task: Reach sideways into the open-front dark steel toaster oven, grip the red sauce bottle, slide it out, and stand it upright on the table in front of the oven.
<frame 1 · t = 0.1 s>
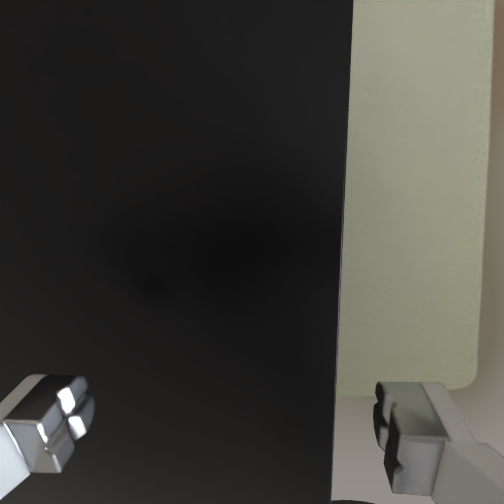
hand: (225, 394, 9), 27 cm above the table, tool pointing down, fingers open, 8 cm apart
toaster oven: (191, 240, 37), on the table
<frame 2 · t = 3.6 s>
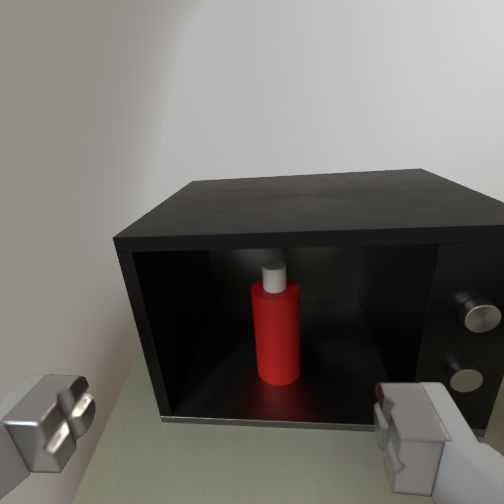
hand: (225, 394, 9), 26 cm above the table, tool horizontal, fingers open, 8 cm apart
sauce bottle: (279, 369, 43), point 1 cm above the table, touching toaster oven
toaster oven: (306, 350, 47), on the table
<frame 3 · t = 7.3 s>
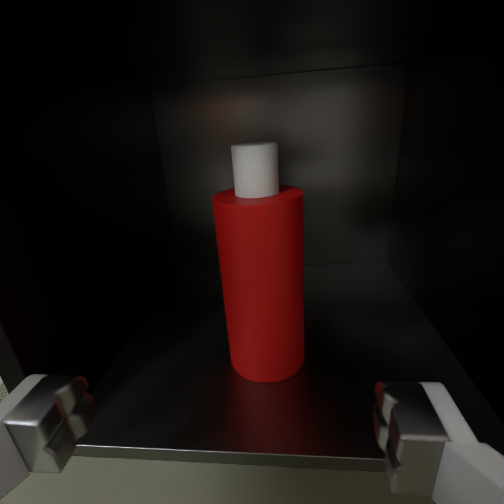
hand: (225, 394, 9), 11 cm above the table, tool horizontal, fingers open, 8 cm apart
sauce bottle: (267, 355, 25), point 1 cm above the table, touching toaster oven
toaster oven: (312, 327, 29), on the table
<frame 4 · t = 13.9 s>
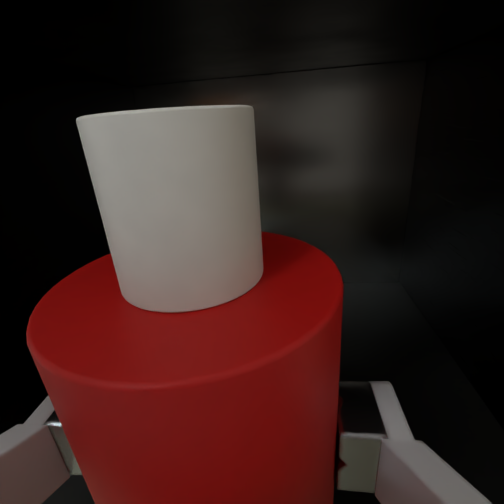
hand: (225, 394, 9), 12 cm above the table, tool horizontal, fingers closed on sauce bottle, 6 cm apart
toaster oven: (317, 362, 26), on the table
when the fingers open (9 cm above the table, at t = 17.1 s): sauce bottle stays where it is, on the table.
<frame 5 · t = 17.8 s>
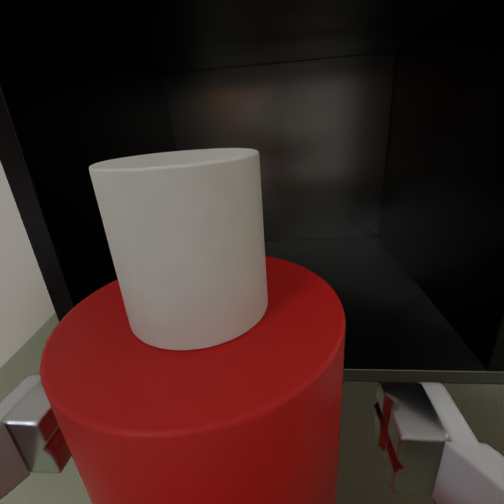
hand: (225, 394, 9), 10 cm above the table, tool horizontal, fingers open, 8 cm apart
toaster oven: (310, 286, 33), on the table
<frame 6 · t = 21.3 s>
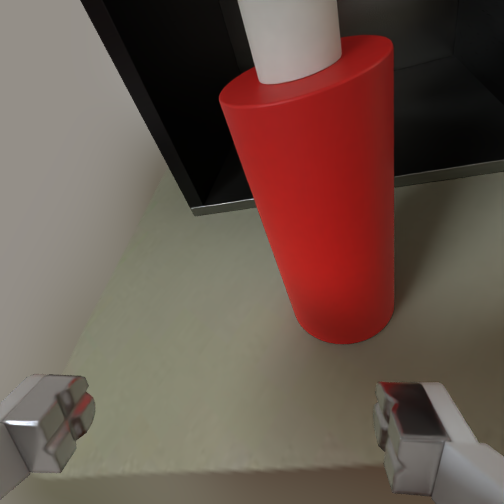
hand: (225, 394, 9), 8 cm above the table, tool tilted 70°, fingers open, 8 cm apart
sauce bottle: (341, 301, 19), on the table
toaster oven: (374, 121, 34), on the table
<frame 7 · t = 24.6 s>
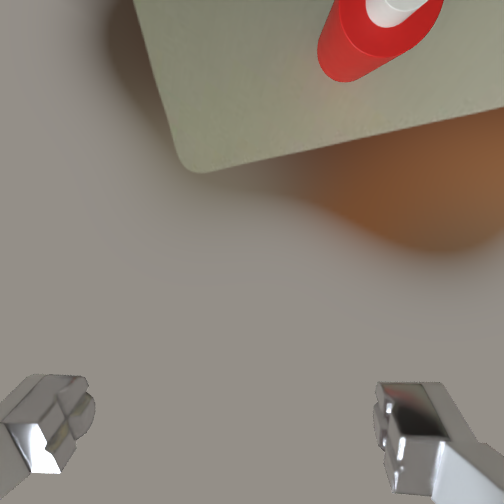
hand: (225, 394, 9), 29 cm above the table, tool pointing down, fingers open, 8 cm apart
sauce bottle: (348, 47, 30), on the table
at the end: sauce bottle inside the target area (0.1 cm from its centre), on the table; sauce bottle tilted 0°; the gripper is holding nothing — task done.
